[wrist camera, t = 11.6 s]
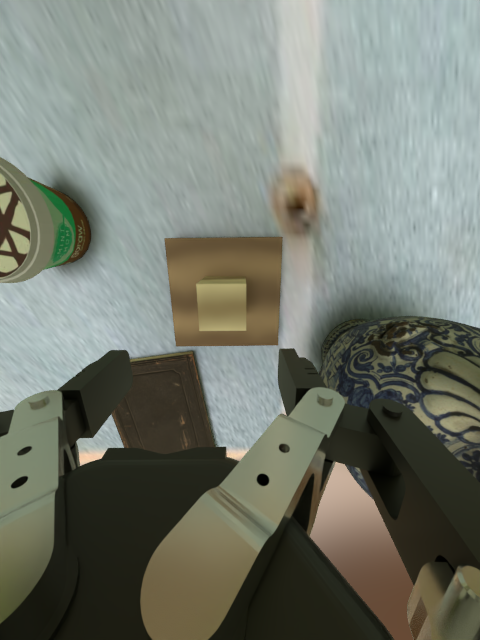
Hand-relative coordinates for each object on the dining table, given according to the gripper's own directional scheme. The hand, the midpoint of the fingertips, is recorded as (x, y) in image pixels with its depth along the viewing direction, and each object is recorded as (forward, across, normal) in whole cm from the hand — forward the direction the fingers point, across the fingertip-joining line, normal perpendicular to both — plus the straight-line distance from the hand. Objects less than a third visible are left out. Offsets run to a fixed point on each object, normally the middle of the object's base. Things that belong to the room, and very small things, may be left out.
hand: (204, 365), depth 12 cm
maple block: (+18, 0, 0) cm, 18 cm away
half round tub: (+22, +20, -8) cm, 31 cm away
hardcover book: (+23, +12, +22) cm, 34 cm away
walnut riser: (+22, 0, 0) cm, 22 cm away
